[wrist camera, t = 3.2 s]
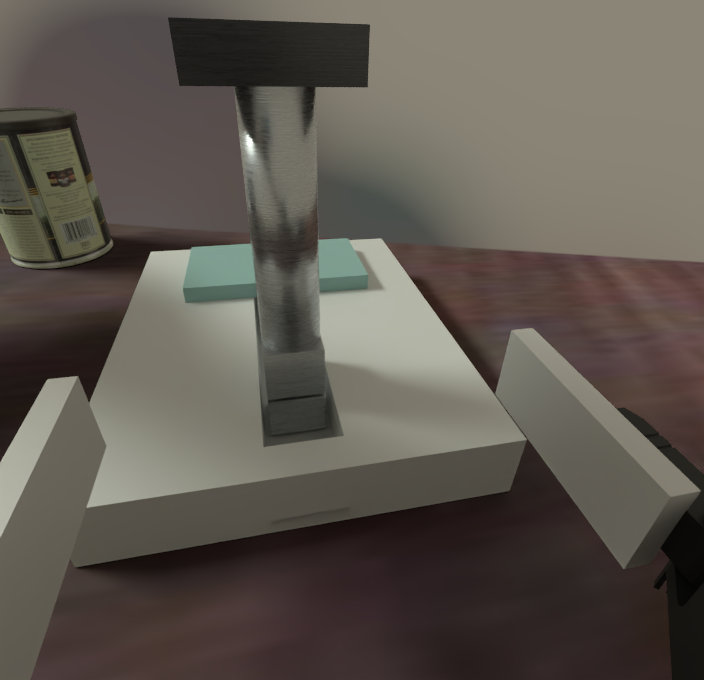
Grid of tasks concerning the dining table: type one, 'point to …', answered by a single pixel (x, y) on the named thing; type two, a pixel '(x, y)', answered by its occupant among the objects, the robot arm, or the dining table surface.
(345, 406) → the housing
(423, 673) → the dining table surface
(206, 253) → the cover
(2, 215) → the coffee can
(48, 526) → the robot arm
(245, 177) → the t key
